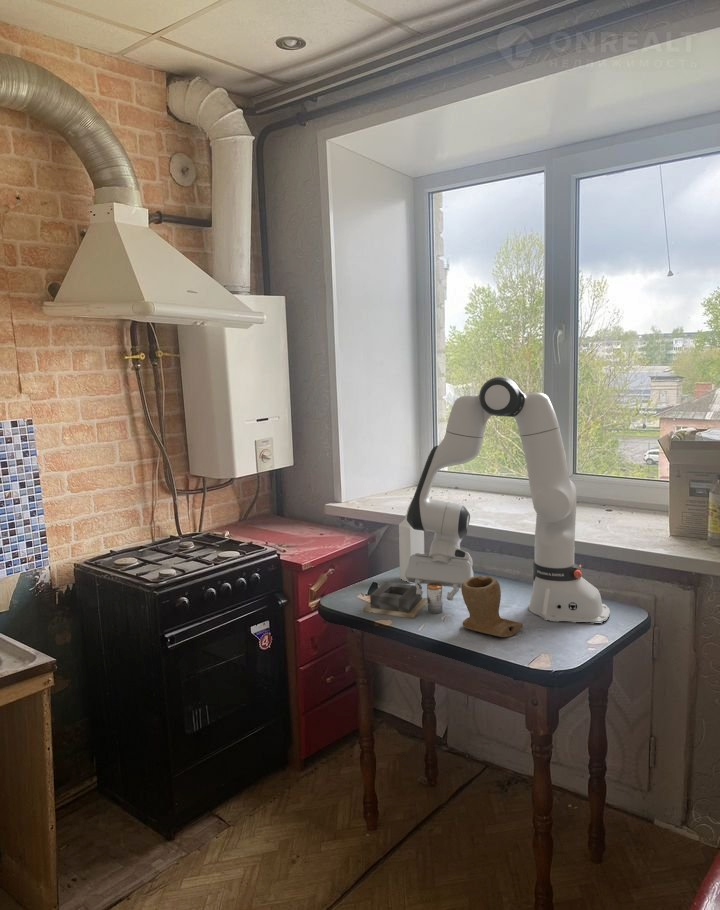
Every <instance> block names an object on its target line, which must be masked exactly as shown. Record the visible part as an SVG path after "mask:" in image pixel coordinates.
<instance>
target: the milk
mask: <svg viewBox="0 0 720 910" xmlns="http://www.w3.org/2000/svg"><path fill="white" fill-rule="evenodd" d="M398 537H399V538H398V542H399V543H398V548H399V549H398V550H399V551H398V552H399V553H398V554H399V579H400V580H401V579H402V581H404V582H406V581H407V583H409V584H415V583H414V582H409V581H408V580H407V578H406V576H405V572H406V569H407V567H408V564H409V559H410V556H412V555H414V554H415V553H420V554H425V531H422V530H414V529H413V528H412V527H411V526H410V524H409V523H408V522H407V513H406V514H405V518H404V519H403V520H402V521H401V522H400V523H399V524H398Z"/></svg>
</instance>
